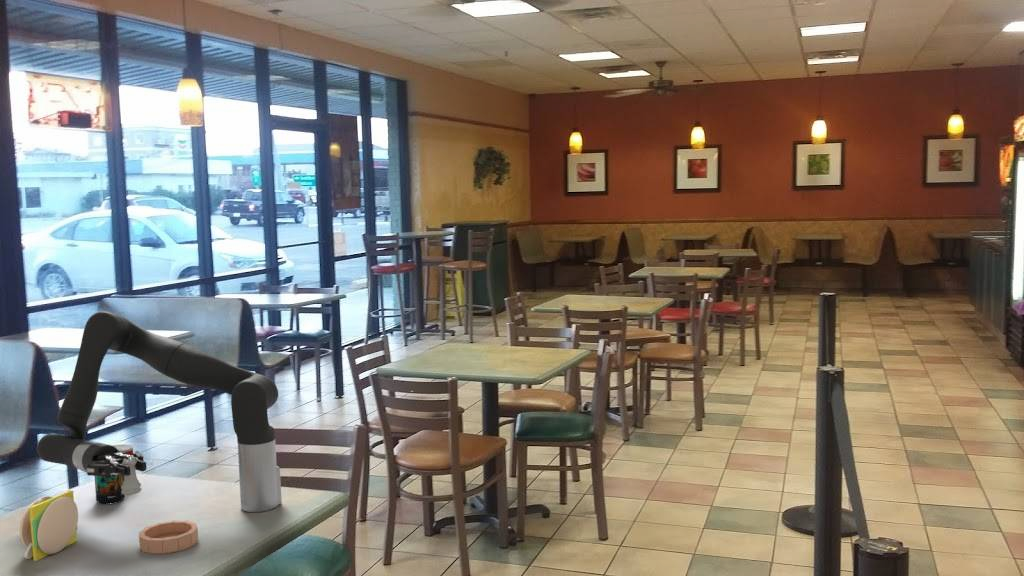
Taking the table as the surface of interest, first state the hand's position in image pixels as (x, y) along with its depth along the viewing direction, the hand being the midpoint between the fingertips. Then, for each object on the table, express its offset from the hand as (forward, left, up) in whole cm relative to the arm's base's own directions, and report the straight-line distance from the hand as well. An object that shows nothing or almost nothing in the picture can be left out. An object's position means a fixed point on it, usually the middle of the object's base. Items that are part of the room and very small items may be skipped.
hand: (136, 468), depth 211 cm
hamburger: (+15, -12, -17) cm, 26 cm away
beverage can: (-12, -33, -17) cm, 39 cm away
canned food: (-20, -42, -17) cm, 49 cm away
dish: (-2, +8, -17) cm, 19 cm away
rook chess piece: (0, -3, -6) cm, 7 cm away
